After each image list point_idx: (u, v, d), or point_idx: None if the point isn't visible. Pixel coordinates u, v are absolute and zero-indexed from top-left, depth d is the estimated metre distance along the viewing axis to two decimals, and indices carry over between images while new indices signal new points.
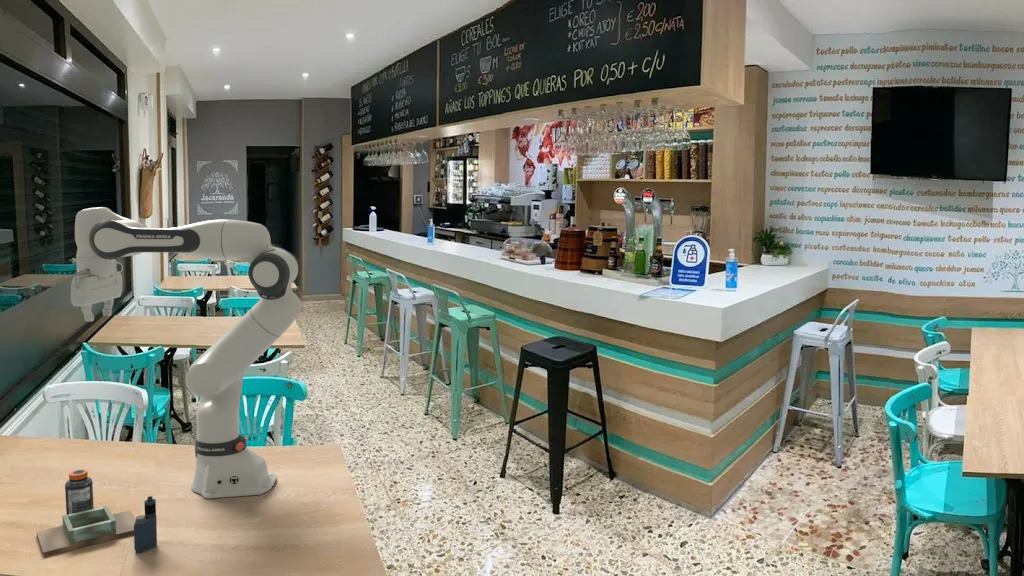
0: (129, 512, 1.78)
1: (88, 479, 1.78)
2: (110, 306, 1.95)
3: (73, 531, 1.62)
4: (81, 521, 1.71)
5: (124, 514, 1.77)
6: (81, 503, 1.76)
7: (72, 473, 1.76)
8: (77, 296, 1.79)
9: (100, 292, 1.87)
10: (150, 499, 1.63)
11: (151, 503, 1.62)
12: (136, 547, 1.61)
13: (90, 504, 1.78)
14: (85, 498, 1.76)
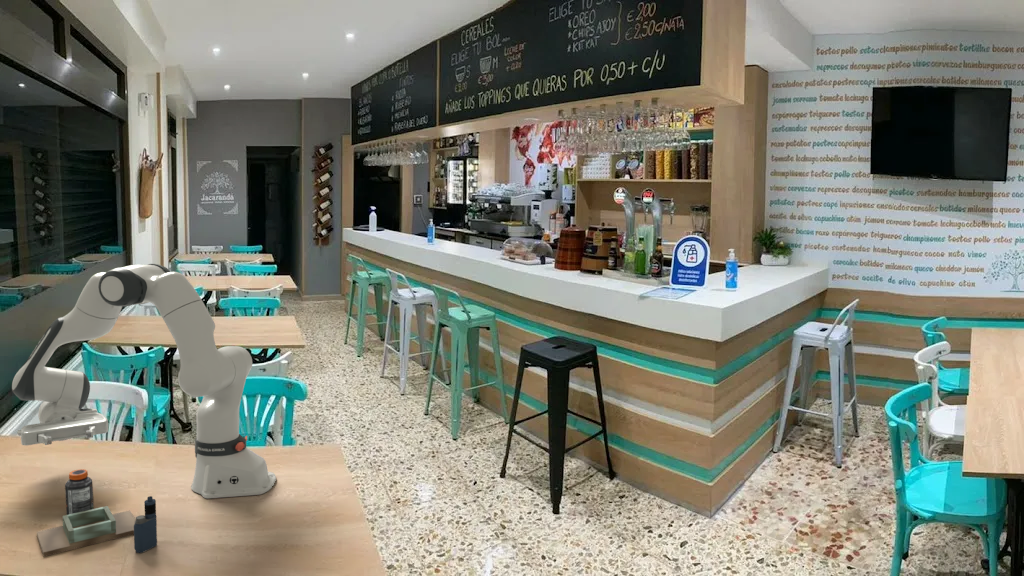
0: (129, 512, 1.78)
1: (88, 479, 1.78)
2: None
3: (73, 531, 1.62)
4: (81, 521, 1.71)
5: (124, 514, 1.77)
6: (81, 503, 1.76)
7: (72, 473, 1.76)
8: None
9: (57, 425, 1.90)
10: (150, 499, 1.63)
11: (151, 503, 1.62)
12: (136, 547, 1.61)
13: (90, 504, 1.78)
14: (85, 498, 1.76)
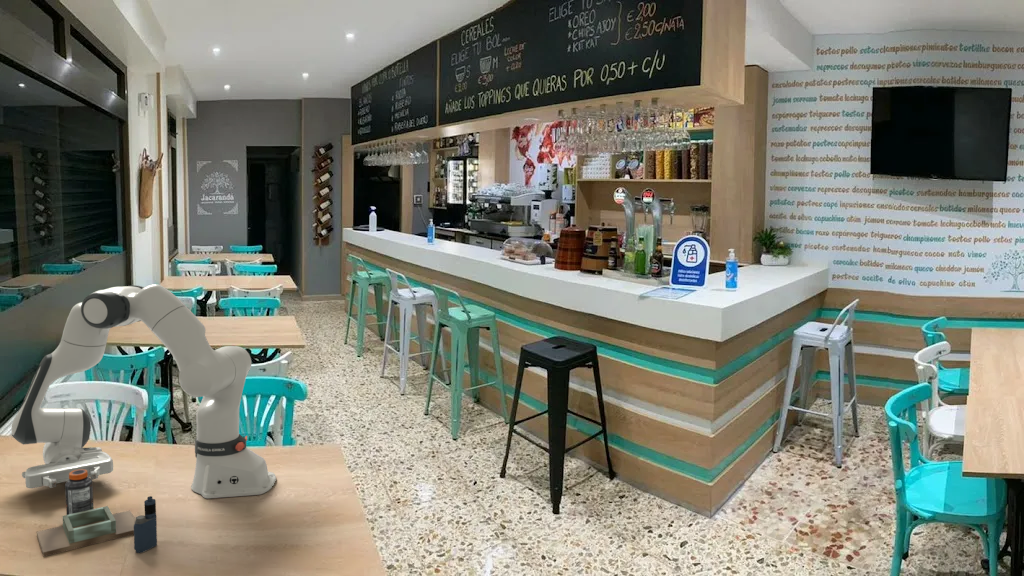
0: (129, 512, 1.78)
1: (88, 479, 1.78)
2: (95, 470, 1.89)
3: (73, 531, 1.62)
4: (81, 521, 1.71)
5: (124, 514, 1.77)
6: (81, 503, 1.76)
7: (72, 473, 1.76)
8: (25, 479, 1.83)
9: (61, 466, 1.88)
10: (150, 499, 1.63)
11: (151, 503, 1.62)
12: (136, 547, 1.61)
13: (90, 504, 1.78)
14: (85, 498, 1.76)
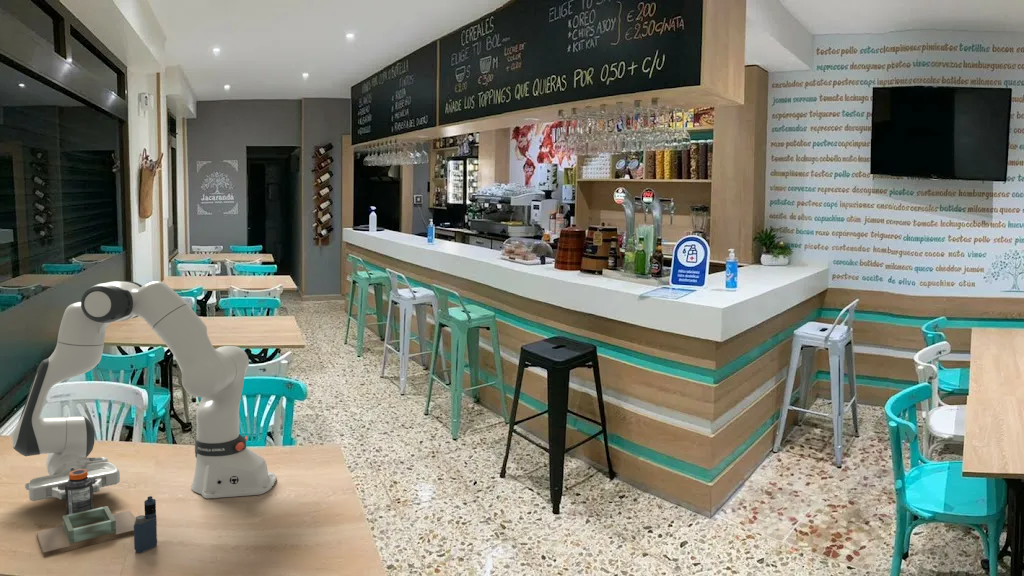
0: (129, 512, 1.78)
1: (88, 479, 1.78)
2: None
3: (73, 531, 1.62)
4: (81, 521, 1.71)
5: (124, 514, 1.77)
6: (81, 503, 1.76)
7: (72, 473, 1.76)
8: None
9: (66, 477, 1.81)
10: (150, 499, 1.63)
11: (151, 503, 1.62)
12: (136, 547, 1.61)
13: (90, 504, 1.78)
14: (85, 498, 1.76)
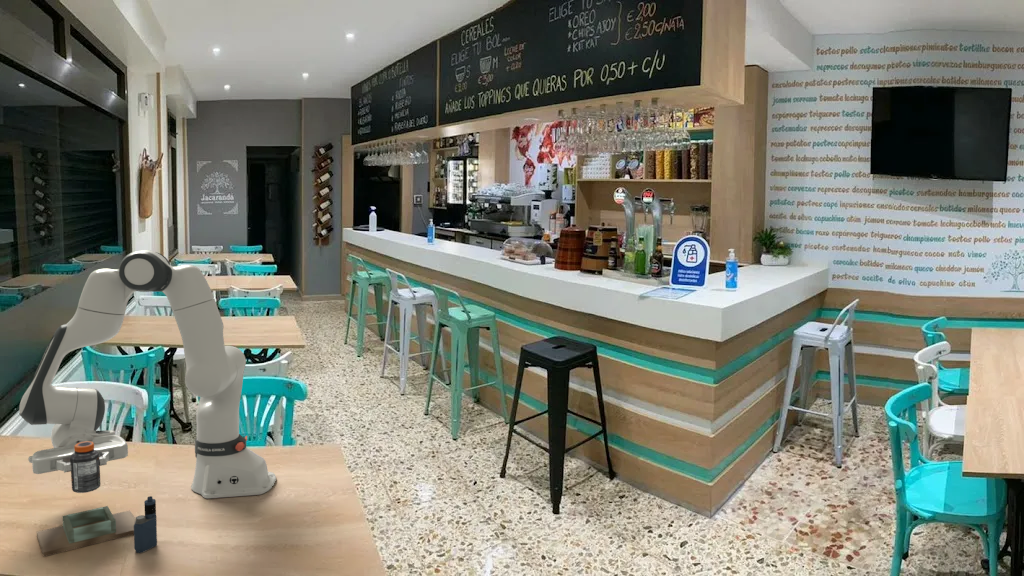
0: (129, 512, 1.78)
1: (94, 452, 1.68)
2: None
3: (73, 531, 1.62)
4: (81, 521, 1.71)
5: (124, 514, 1.77)
6: (87, 476, 1.66)
7: (77, 445, 1.66)
8: None
9: (71, 450, 1.72)
10: (150, 499, 1.63)
11: (151, 503, 1.62)
12: (136, 547, 1.61)
13: (97, 478, 1.68)
14: (91, 471, 1.67)
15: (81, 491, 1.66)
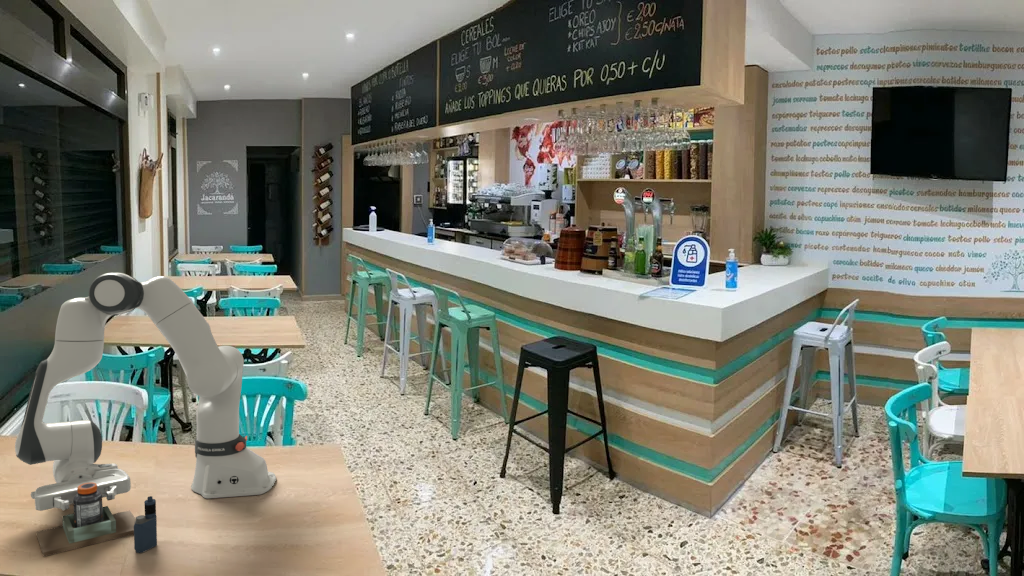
0: (129, 512, 1.78)
1: (98, 493, 1.68)
2: (111, 490, 1.72)
3: (73, 531, 1.62)
4: None
5: (124, 514, 1.77)
6: (90, 518, 1.66)
7: (80, 487, 1.66)
8: None
9: (74, 486, 1.71)
10: (150, 499, 1.63)
11: (151, 503, 1.62)
12: (136, 547, 1.61)
13: (100, 520, 1.68)
14: (94, 513, 1.66)
15: None
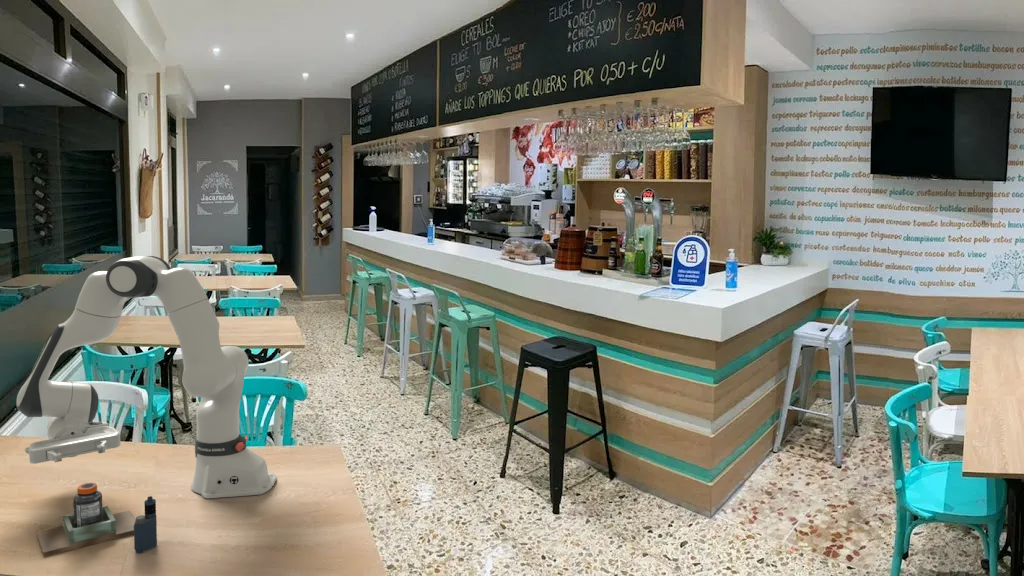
0: (129, 512, 1.78)
1: (97, 493, 1.68)
2: None
3: (73, 531, 1.62)
4: None
5: (124, 514, 1.77)
6: (90, 518, 1.66)
7: (80, 487, 1.66)
8: None
9: (66, 441, 1.80)
10: (150, 499, 1.63)
11: (151, 503, 1.62)
12: (136, 547, 1.61)
13: (100, 520, 1.68)
14: (94, 513, 1.66)
15: None
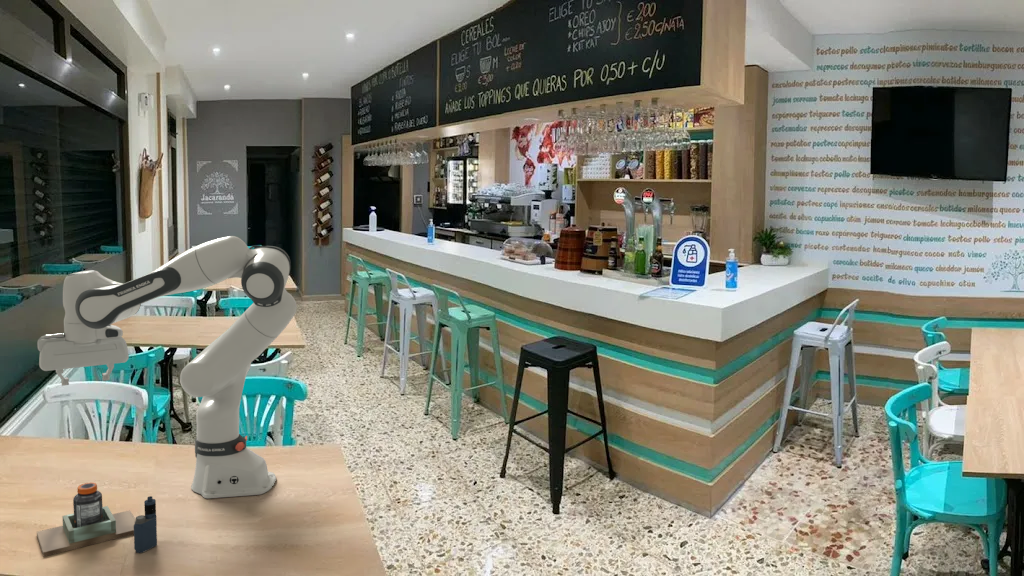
0: (129, 512, 1.78)
1: (98, 493, 1.68)
2: (108, 371, 1.89)
3: (73, 531, 1.62)
4: None
5: (124, 514, 1.77)
6: (90, 518, 1.66)
7: (80, 487, 1.66)
8: (40, 360, 1.79)
9: (78, 357, 1.83)
10: (150, 499, 1.63)
11: (151, 503, 1.62)
12: (136, 547, 1.61)
13: (100, 520, 1.68)
14: (94, 513, 1.66)
15: None
